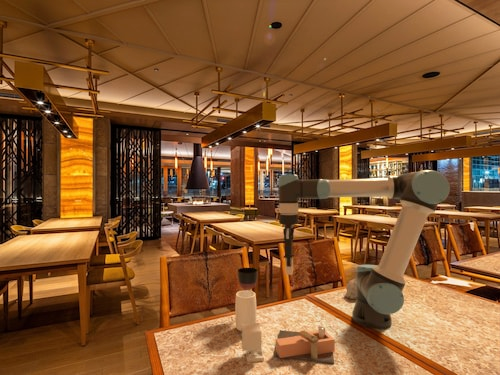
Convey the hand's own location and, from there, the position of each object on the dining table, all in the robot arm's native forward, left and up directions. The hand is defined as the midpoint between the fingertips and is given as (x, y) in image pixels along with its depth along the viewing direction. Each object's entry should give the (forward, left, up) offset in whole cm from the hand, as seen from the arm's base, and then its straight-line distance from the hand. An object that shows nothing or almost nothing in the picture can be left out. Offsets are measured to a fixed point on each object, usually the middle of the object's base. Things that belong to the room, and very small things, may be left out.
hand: (289, 273), depth 109 cm
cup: (+17, +2, -23) cm, 28 cm away
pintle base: (-6, +11, -22) cm, 25 cm away
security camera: (+11, +20, -23) cm, 32 cm away
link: (-3, +16, -21) cm, 27 cm away
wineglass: (+19, -9, -23) cm, 31 cm away
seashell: (-32, -42, -23) cm, 58 cm away
